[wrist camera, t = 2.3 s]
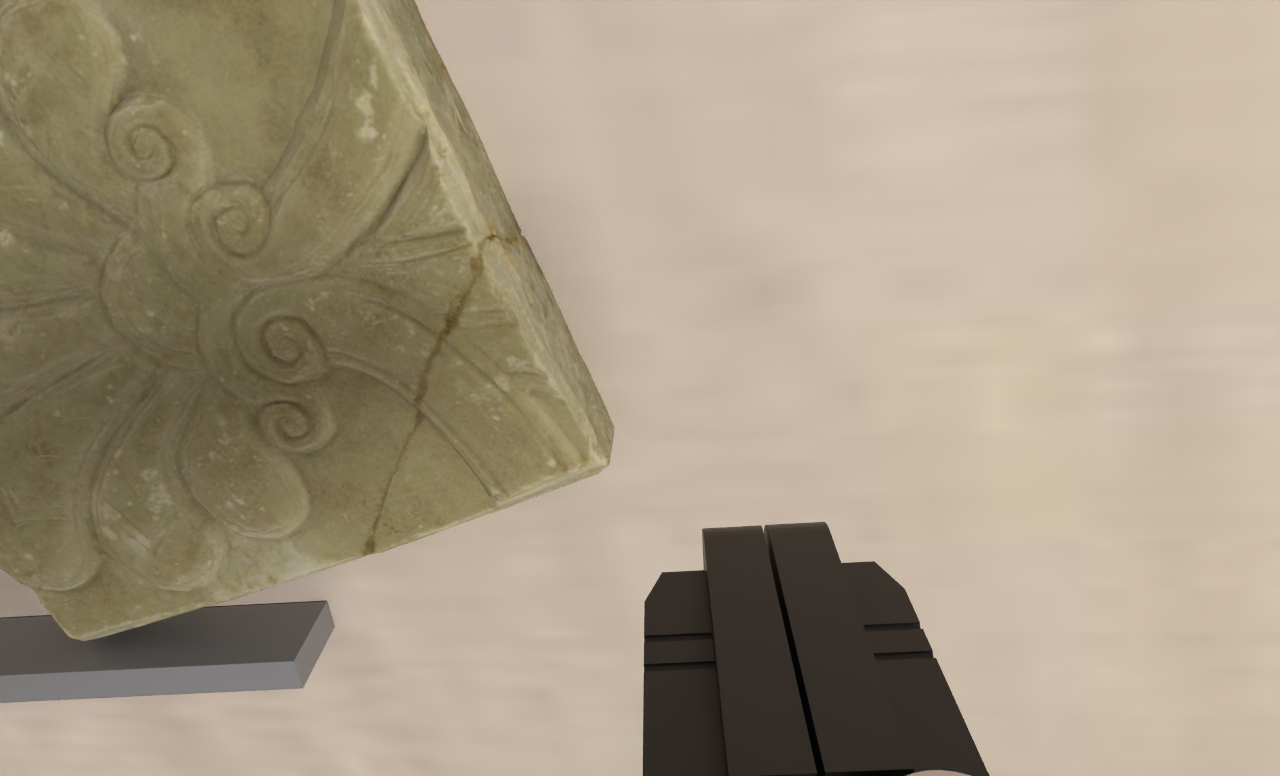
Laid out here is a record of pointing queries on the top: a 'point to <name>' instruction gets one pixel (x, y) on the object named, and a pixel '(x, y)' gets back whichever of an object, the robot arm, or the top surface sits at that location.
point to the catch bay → (166, 654)
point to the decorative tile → (256, 305)
